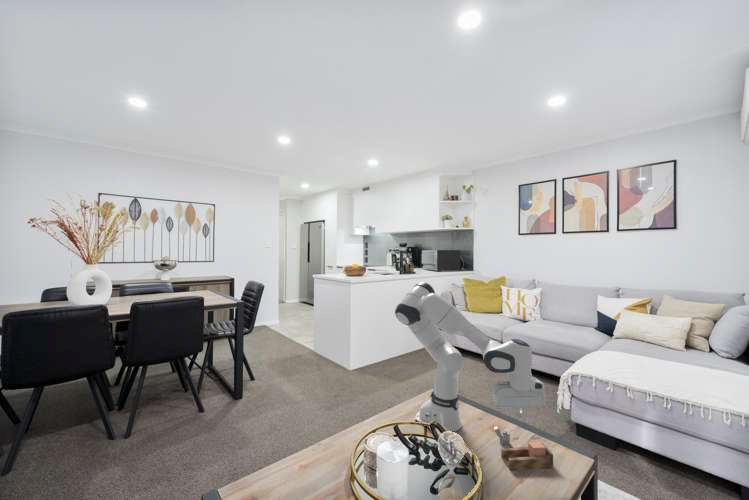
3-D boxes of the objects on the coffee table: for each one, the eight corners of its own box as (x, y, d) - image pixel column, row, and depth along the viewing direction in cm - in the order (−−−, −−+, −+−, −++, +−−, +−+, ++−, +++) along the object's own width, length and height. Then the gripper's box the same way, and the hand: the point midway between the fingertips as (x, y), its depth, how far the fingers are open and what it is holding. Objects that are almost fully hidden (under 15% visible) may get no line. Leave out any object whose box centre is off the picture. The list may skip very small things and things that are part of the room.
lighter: (507, 441, 134) (507, 423, 134) (510, 443, 133) (509, 425, 133) (493, 444, 132) (493, 426, 132) (496, 447, 131) (496, 428, 131)
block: (533, 463, 119) (533, 448, 119) (528, 457, 123) (528, 442, 123) (545, 462, 119) (545, 447, 119) (540, 456, 123) (540, 441, 123)
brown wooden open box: (510, 470, 117) (509, 456, 117) (501, 458, 124) (501, 445, 124) (553, 468, 118) (553, 454, 118) (542, 456, 125) (542, 442, 125)
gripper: (497, 385, 117) (497, 421, 117) (548, 384, 119) (547, 420, 119) (490, 378, 123) (489, 412, 123) (538, 377, 125) (538, 411, 125)
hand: (518, 416), depth 121 cm, fingers closed
